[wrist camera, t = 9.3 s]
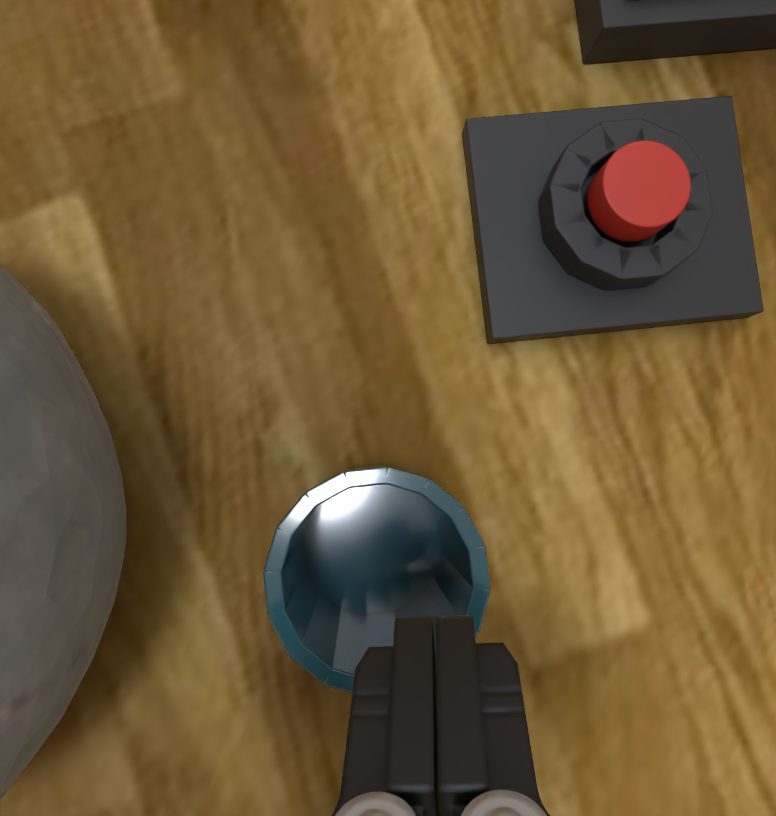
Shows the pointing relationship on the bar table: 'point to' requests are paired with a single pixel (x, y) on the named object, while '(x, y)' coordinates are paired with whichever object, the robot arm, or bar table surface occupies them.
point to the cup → (369, 567)
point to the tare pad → (582, 239)
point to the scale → (672, 27)
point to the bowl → (50, 526)
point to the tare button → (639, 191)
